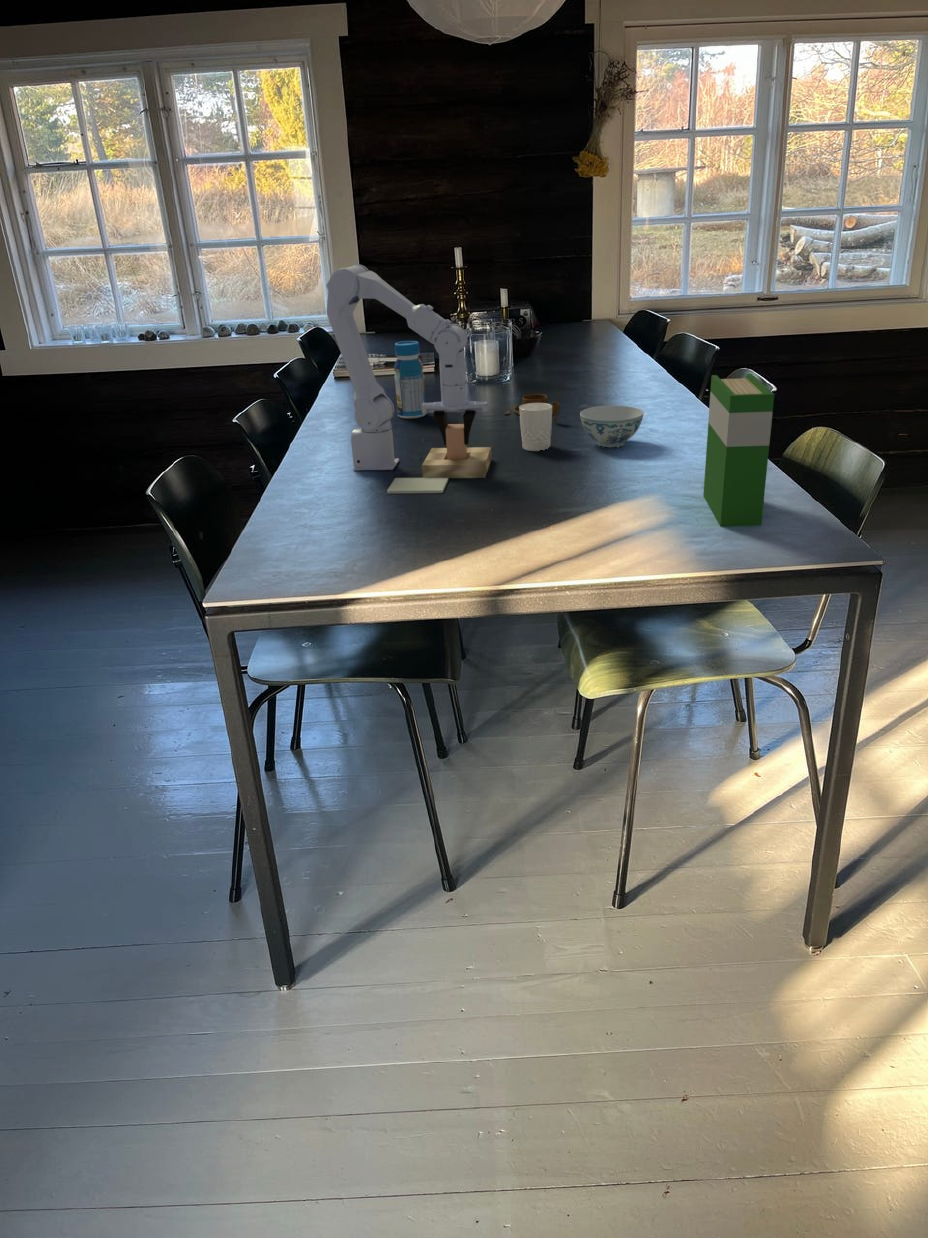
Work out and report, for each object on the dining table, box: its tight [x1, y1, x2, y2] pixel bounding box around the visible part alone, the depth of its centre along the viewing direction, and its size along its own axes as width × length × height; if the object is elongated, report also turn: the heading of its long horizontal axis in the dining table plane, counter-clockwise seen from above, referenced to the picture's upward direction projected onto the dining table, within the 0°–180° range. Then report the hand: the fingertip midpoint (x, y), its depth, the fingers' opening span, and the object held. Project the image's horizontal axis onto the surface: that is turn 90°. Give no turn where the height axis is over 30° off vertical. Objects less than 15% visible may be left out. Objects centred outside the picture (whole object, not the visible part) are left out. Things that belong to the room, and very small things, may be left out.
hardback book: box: [703, 373, 775, 527], centre depth 171 cm, size 18×7×24 cm, turn 177°
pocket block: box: [421, 446, 492, 479], centre depth 209 cm, size 14×14×3 cm
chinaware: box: [579, 405, 645, 448], centre depth 220 cm, size 15×15×8 cm
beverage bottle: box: [393, 340, 427, 419], centre depth 254 cm, size 8×8×20 cm
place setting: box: [503, 393, 560, 423], centre depth 250 cm, size 18×20×6 cm
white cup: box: [518, 403, 553, 452], centre depth 220 cm, size 8×8×10 cm
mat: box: [386, 477, 449, 494], centre depth 199 cm, size 12×9×1 cm
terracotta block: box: [445, 423, 468, 460], centre depth 207 cm, size 4×4×8 cm
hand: (456, 443), depth 207 cm, fingers closed on terracotta block, 4 cm apart
